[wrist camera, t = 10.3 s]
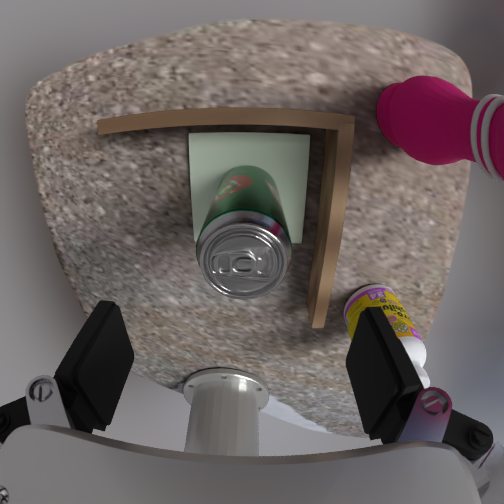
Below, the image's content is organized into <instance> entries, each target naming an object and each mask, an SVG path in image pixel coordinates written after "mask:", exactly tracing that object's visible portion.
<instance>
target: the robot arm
mask: <svg viewBox="0 0 504 504" xmlns="http://www.w3.org/2000/svg"><path fill="white" fill-rule="evenodd" d="M133 361H134V352H133V349H132V346H131V343H130V340H129V337H128V334H127V331H126V327H125V324H124V321H123V318H122V314H121V311H120V308H119V306H118V305H116V304H115V302H113V301H103V300H101V301H100V302H99V303H98V304H97V306H96V307H95V309H94V310H93V312H92V313H91V315H90V316H89V318H88V319H87V321H86V322H85V324H84V326H83V327H82V329H81V330H80V332H79V334H78V335H77V337H76V338H75V340H74V341H73V343H72V345H71V347H70V348H69V350H68V351H67V353H66V355H65V357H64V358H63V360H62V362H61V364H60V365H59V367H58V369H57V370H56V372H55V375H54V377H53V378H52V377H51V376H48V375H41V376H38V377H36V378H34V379H33V380H31V381H30V383H29V384H28V386H27V388H26V396H25V397H23V398H20V399H18V400H16V401H13V402H11V403H8V404H6V405H3V406H1V407H0V504H504V447H503V446H502V445H500V443H498V442H497V443H495V444H494V443H493V434H492V432H491V430H490V429H489V428H488V426H486V425H485V424H483V423H481V422H479V421H476V420H474V419H472V418H470V417H468V416H466V415H463V414H461V413H459V412H457V411H455V410H453V409H452V402H451V399H450V397H449V395H448V394H447V393H446V392H445V391H443V390H442V389H440V388H436V387H428V388H424V386H423V384H422V382H421V380H420V378H419V376H418V374H417V372H416V369H415V367H414V365H413V363H412V361H411V359H410V357H409V355H408V353H407V351H406V349H405V348H404V346H403V344H402V342H401V340H400V339H399V338H397V336H396V334H395V332H394V330H393V328H392V326H391V324H390V322H389V321H388V319H387V317H386V315H385V313H384V311H383V310H382V308H381V307H380V306H375V307H366V308H365V310H364V311H361V312H360V315H359V319H358V322H357V325H356V329H355V332H354V335H353V339H352V342H351V345H350V348H349V351H348V354H347V357H346V368H347V371H348V375H349V378H350V381H351V385H352V388H353V392H354V395H355V399H356V402H357V406H358V410H359V413H360V417H361V421H362V424H363V428H364V432H365V433H366V434H369V436H370V440H374V439H380V438H381V441H382V443H383V445H377V446H371V447H365V448H359V449H352V450H345V451H337V452H328V453H319V454H307V455H294V456H293V455H292V456H259V425H258V424H259V411H260V410H262V409H263V408H264V407H265V406H266V405H267V403H268V401H269V391H268V388H267V386H266V384H265V383H264V382H263V381H262V380H260V379H259V378H257V377H256V376H254V375H251V374H249V373H246V372H243V371H239V370H234V369H224V368H218V369H208V370H203V371H200V372H197V373H195V374H193V375H191V376H190V377H189V378H188V379H187V380H186V382H185V384H184V388H183V394H184V397H185V399H186V400H187V401H188V403H189V404H190V405H191V411H190V418H189V424H188V430H187V436H186V443H185V449H184V452H180V451H172V450H166V449H159V448H153V447H147V446H142V445H136V444H132V443H127V442H123V441H118V440H114V439H109V438H105V437H101V436H97V435H94V434H92V431H93V428H94V429H98V430H101V431H105V429H106V426H107V425H110V424H111V421H112V418H113V415H114V412H115V409H116V407H117V404H118V401H119V399H120V396H121V393H122V390H123V388H124V385H125V382H126V380H127V377H128V374H129V372H130V369H131V367H132V364H133Z"/></svg>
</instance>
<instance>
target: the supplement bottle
mask: <svg viewBox="0 0 504 504" xmlns="http://www.w3.org/2000/svg"><path fill="white" fill-rule="evenodd" d="M375 306H380V307H381V308H382V310H383V311H384V313H385V315H386V317H387V319H388V321H389V322H390V324H391V326H392V328H393V330H394V332H395V334H396V336H397V338H399V339H400V340H401V342H402V344H403V346H404V348H405V349H406V351H407V353H408V355H409V357H410V359H411V361H412V363H413V365H414V367H415V369H416V372H417V374H418V376H419V378H420V380H421V382H422V384H423V386H424V388H428V387H429V385H430V380H429V377H428V375H427V373H426V371H425V370H424V369H423V368H422V367H423V365H424V363H425V360H426V349H425V346H424V344H423V342H422V340H421V338H420V337H419V335H418V333H417V331H416V329H415V327H414V326H413V324H412V322H411V320H410V318H409V317H408V315H407V313H406V311H405V310H404V308H403V306H402V304H401V303H400V301H399V299H398V298H397V296H396V294H395V293H394V292H393V290H392V289H390V288H389V287H387V286H385V285H380V284H373V285H369V286H365V287H363V288H361V289H359V290H358V291H356V292H355V293H354V294H353V295H352V296H351V297H350V298H349V300H348V301H347V303H346V305H345V308H344V320H345V323H346V326H347V329H348V332H349V335H350V338H351V341H352V339H353V335H354V332H355V329H356V325H357V322H358V319H359V315H360V312H361V311H364V310H365V308H366V307H375Z"/></svg>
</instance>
